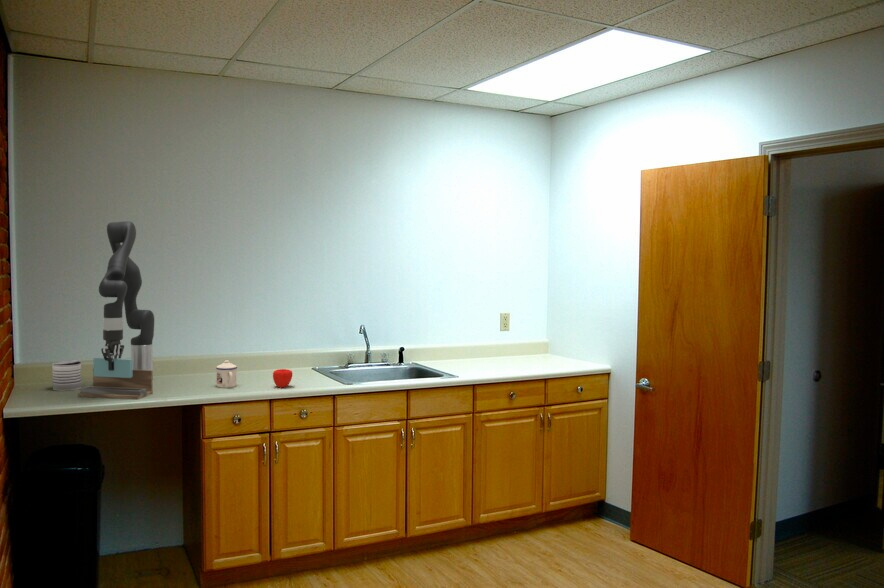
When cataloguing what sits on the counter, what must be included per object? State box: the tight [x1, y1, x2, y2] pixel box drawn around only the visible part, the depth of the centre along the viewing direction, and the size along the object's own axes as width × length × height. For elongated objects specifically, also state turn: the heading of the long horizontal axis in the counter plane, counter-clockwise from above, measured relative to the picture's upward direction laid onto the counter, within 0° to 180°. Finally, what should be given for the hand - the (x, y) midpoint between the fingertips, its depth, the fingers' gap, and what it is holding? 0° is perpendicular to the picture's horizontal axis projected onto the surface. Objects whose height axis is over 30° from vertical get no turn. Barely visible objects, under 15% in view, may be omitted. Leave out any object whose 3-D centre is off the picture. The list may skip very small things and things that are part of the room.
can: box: [51, 359, 82, 391], centre depth 307 cm, size 11×11×12 cm
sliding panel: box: [92, 357, 133, 378], centre depth 292 cm, size 2×16×8 cm, turn 84°
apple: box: [272, 368, 293, 389], centre depth 321 cm, size 9×9×8 cm
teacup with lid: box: [215, 360, 238, 389], centre depth 318 cm, size 12×9×12 cm
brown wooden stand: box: [77, 369, 154, 400], centre depth 294 cm, size 12×26×10 cm, turn 84°
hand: (112, 369), depth 292 cm, fingers closed on sliding panel, 1 cm apart
